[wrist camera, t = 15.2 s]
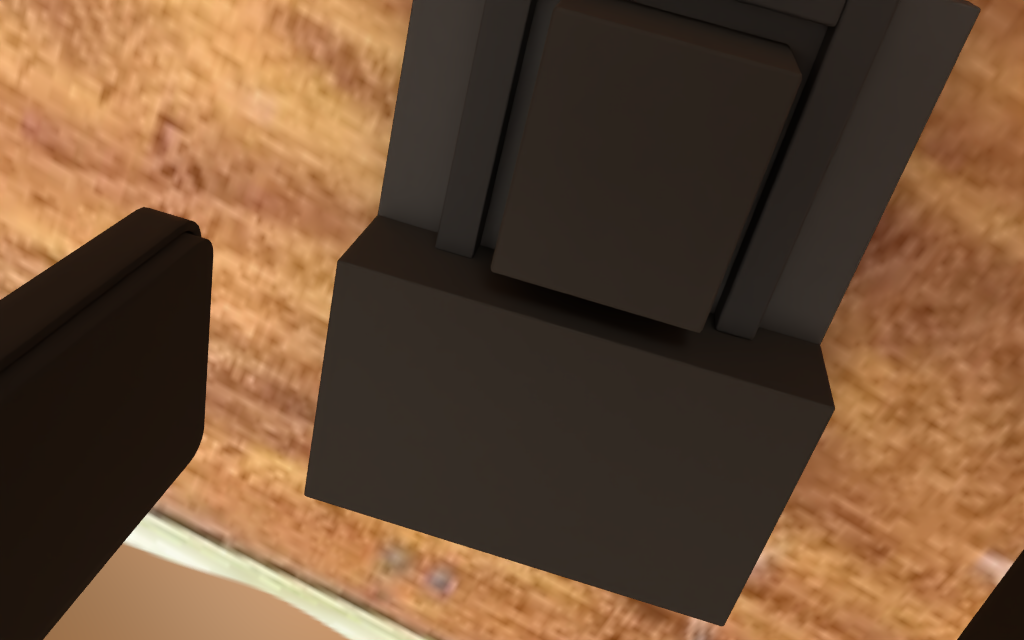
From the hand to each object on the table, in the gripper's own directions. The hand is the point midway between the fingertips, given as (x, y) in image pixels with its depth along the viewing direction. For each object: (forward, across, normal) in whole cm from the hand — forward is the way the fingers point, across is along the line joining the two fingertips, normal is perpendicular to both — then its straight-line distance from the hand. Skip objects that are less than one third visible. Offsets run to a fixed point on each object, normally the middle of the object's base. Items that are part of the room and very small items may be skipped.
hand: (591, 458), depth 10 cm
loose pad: (+13, 0, +1) cm, 13 cm away
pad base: (+14, 0, +4) cm, 14 cm away
